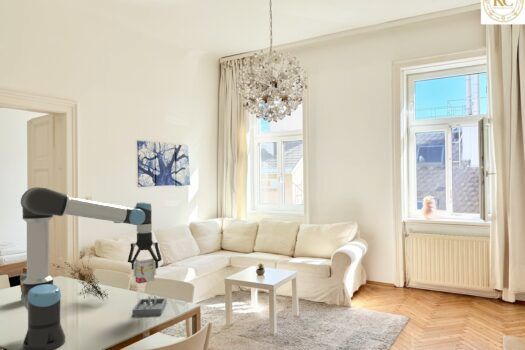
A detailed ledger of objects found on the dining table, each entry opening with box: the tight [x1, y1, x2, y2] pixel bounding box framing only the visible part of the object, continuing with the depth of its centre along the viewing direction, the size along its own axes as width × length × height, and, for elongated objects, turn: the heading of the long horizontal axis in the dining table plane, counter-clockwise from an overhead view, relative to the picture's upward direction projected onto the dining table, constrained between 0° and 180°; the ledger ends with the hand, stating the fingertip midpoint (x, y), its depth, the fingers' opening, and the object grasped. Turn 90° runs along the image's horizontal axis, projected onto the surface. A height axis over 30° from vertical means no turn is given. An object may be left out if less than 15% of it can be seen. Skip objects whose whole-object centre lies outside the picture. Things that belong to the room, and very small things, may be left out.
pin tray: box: [132, 294, 168, 317], centre depth 202 cm, size 18×14×6 cm
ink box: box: [135, 256, 156, 285], centre depth 200 cm, size 9×5×12 cm, turn 128°
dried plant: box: [51, 247, 109, 301], centre depth 220 cm, size 30×31×45 cm
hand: (145, 275), depth 200 cm, fingers closed on ink box, 9 cm apart
